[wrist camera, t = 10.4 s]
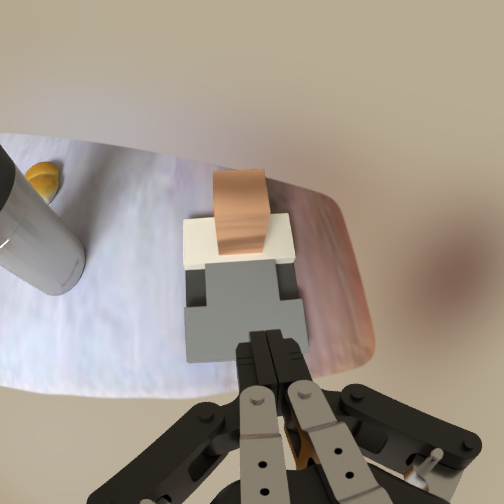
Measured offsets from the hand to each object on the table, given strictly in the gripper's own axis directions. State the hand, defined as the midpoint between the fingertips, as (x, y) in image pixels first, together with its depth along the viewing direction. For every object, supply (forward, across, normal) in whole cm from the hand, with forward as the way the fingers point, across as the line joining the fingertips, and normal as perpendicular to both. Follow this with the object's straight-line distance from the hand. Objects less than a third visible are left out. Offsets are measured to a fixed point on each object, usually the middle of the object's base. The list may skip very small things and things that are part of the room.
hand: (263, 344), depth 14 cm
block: (+22, 0, +2) cm, 23 cm away
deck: (+18, 0, +10) cm, 20 cm away
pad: (+24, 0, +4) cm, 24 cm away
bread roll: (+34, +32, -4) cm, 47 cm away
